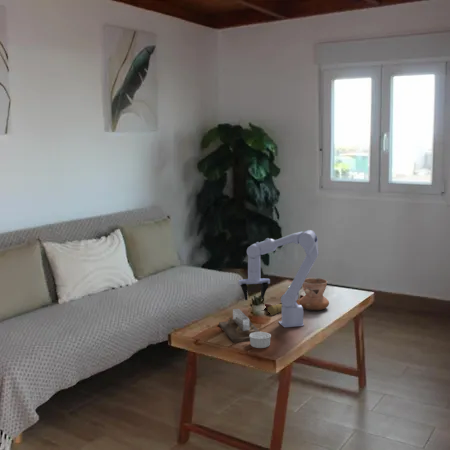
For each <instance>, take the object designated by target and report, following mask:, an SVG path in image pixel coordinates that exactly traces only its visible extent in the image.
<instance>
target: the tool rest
mask: <svg viewBox="0 0 450 450" xmlns="http://www.w3.org/2000/svg"><path fill="white" fill-rule="evenodd" d="M218 325H219V327H220V328H221V330H222V331H223V332H224V333H225V335H227V337H228V338H229V339H230V341H231V342H232V343H240V342H250V337H249V335H250V334H251V333H253V332H261V331H260V330H259V329H258V328H257V327H256V326H255V325H254V324H253V323H252V322H251V320H249V331H243V330H242V329H241V328H240V327H239V326H238V325H237V324H236V323H235V322H234V320H233V317H229V318H228V319H227V321H219V322H218Z"/></svg>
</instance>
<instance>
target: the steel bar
mask: <svg viewBox="0 0 450 450" xmlns="http://www.w3.org/2000/svg"><path fill="white" fill-rule="evenodd" d="M232 319H233V320H234V322H235V323H236V324H237V325H238V326H239V327H240V328H241V329H242V330H243V331H249V321H250V318H249V317H248V316H247V315H246V314H245V313H244V312H243V311H242V310H241V309H240V308H233V309H232Z"/></svg>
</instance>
